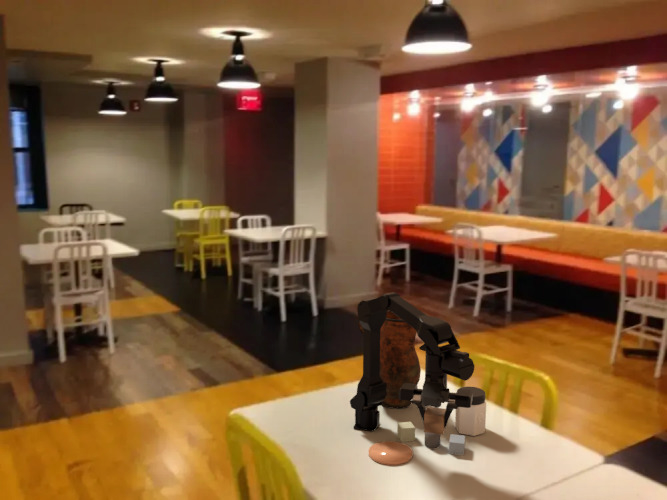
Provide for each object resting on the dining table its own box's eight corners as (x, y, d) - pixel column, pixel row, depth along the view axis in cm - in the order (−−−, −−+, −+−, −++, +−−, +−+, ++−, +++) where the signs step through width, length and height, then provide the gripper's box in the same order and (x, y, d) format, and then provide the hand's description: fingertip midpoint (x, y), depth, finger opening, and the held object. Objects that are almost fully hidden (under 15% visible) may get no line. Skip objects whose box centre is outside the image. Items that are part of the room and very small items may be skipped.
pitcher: (411, 416, 196) (413, 323, 191) (349, 405, 205) (349, 316, 200) (426, 397, 211) (428, 310, 206) (367, 388, 219) (367, 304, 215)
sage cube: (401, 441, 179) (401, 428, 179) (397, 435, 183) (397, 422, 183) (414, 440, 180) (415, 427, 180) (410, 434, 184) (410, 421, 183)
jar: (469, 438, 181) (470, 399, 179) (449, 428, 188) (450, 390, 186) (490, 431, 186) (492, 392, 184) (470, 421, 192) (472, 384, 190)
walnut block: (423, 432, 165) (424, 414, 164) (427, 424, 170) (427, 406, 169) (442, 434, 164) (443, 416, 163) (445, 426, 168) (446, 409, 167)
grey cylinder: (423, 447, 176) (423, 434, 175) (426, 440, 180) (426, 427, 179) (438, 449, 175) (439, 436, 174) (441, 442, 179) (441, 429, 178)
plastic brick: (448, 454, 172) (449, 442, 172) (450, 445, 177) (450, 434, 177) (463, 455, 171) (464, 443, 171) (464, 447, 176) (465, 435, 176)
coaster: (363, 461, 168) (363, 458, 168) (374, 441, 180) (374, 438, 179) (407, 468, 165) (407, 465, 164) (416, 447, 176) (416, 444, 176)
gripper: (394, 376, 159) (393, 433, 162) (468, 384, 154) (467, 444, 156) (403, 361, 170) (403, 416, 172) (473, 369, 164) (472, 425, 167)
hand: (435, 425), depth 167 cm, fingers closed on walnut block, 5 cm apart
